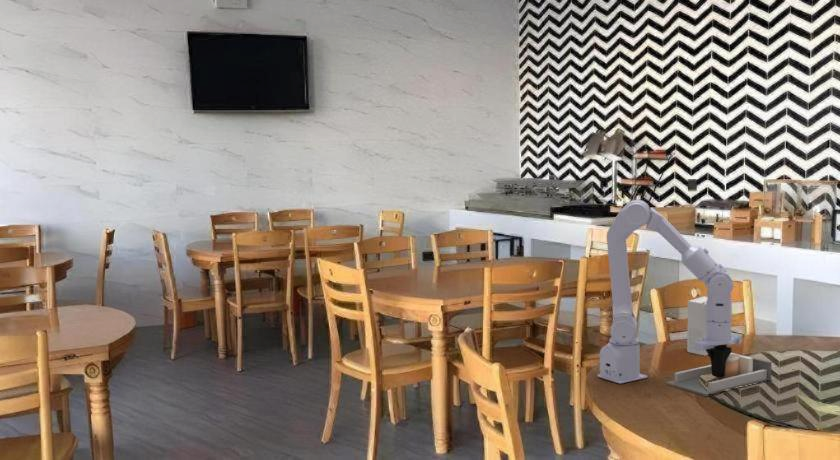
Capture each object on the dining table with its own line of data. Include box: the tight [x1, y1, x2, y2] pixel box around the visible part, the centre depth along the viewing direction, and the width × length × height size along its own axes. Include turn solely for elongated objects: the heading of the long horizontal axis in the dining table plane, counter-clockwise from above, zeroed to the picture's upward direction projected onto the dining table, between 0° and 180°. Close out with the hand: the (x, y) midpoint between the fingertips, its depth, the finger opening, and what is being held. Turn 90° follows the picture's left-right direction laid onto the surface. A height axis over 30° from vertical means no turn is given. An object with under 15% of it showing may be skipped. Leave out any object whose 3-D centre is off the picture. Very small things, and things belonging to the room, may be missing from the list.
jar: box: [717, 354, 739, 379], centre depth 193 cm, size 5×5×6 cm
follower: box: [730, 352, 754, 375], centre depth 194 cm, size 2×8×5 cm, turn 30°
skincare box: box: [686, 296, 709, 356], centre depth 220 cm, size 8×6×15 cm
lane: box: [664, 352, 772, 397], centre depth 191 cm, size 24×12×4 cm, turn 120°
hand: (718, 376), depth 191 cm, fingers closed, pressing on jar
